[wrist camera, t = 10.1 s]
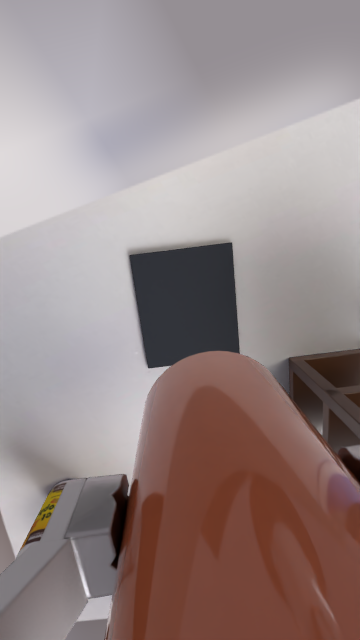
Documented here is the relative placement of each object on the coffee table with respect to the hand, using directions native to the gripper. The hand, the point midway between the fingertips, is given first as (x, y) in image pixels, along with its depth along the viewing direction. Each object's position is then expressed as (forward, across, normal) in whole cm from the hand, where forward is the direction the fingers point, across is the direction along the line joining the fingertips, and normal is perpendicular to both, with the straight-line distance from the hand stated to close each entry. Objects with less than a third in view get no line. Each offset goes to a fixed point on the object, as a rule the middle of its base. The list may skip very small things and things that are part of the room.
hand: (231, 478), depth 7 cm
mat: (+22, 0, 0) cm, 22 cm away
